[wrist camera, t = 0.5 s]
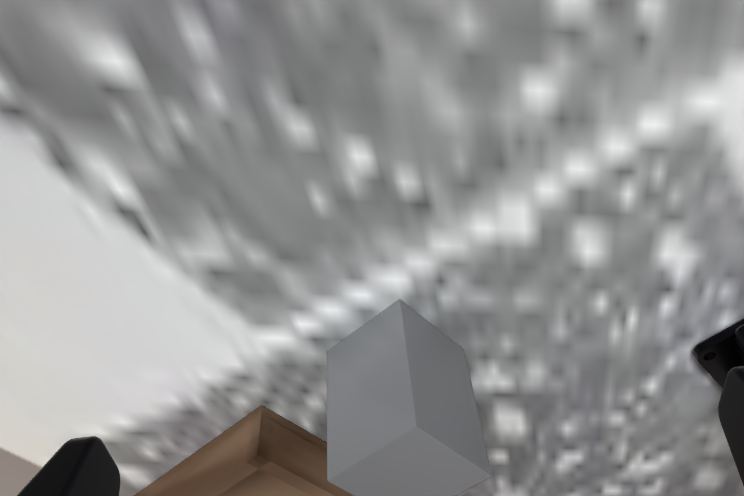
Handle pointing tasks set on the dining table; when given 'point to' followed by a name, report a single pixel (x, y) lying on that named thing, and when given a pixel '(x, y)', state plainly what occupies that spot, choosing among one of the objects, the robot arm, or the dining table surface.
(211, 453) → the walnut tray
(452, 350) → the slate stone block
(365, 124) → the dining table surface
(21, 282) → the dining table surface
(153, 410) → the dining table surface
